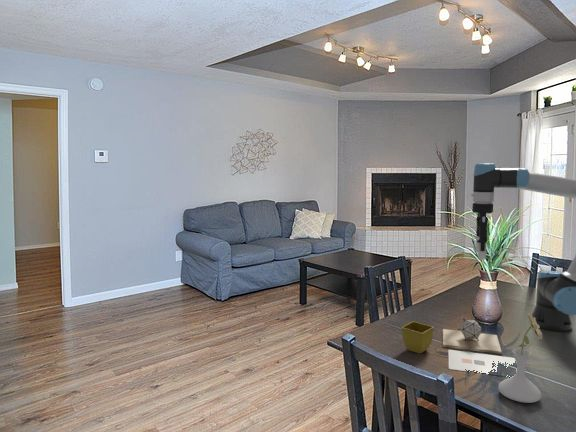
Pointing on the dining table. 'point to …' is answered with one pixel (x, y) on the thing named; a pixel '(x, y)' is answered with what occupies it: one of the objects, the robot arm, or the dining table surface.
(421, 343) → the flower pot
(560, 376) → the dining table surface
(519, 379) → the flower in vase
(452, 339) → the wooden pad
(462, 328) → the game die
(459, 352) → the card
